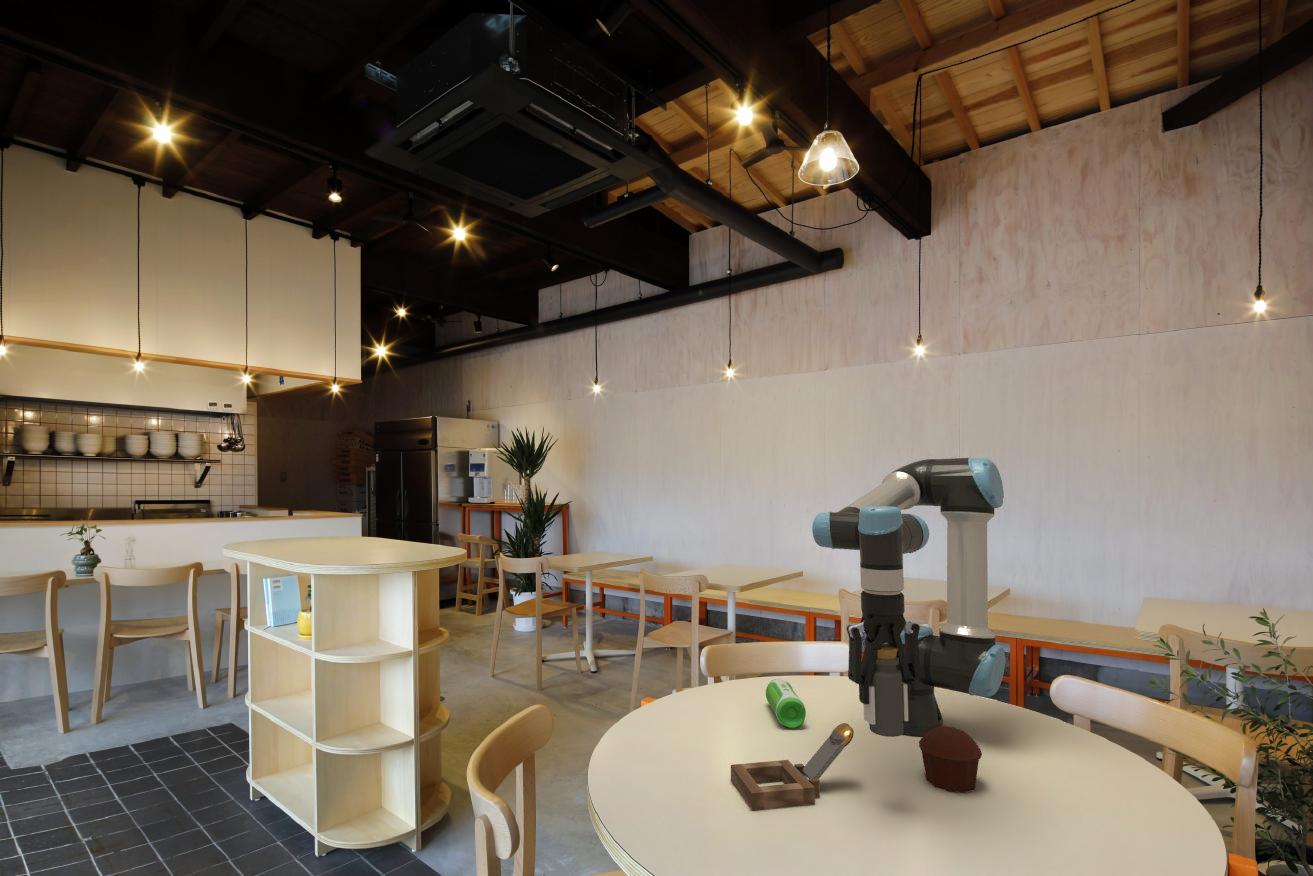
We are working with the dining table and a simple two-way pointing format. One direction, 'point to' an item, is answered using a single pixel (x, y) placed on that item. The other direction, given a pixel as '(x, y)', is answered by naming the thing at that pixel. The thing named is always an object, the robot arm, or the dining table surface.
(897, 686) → the bottle
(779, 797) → the socket block
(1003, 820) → the dining table surface
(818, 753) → the bar
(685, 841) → the dining table surface
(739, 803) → the dining table surface
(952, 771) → the muffin
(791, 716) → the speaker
